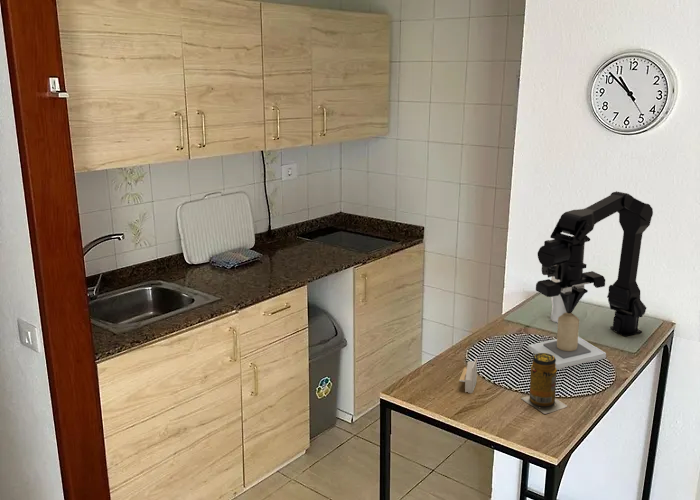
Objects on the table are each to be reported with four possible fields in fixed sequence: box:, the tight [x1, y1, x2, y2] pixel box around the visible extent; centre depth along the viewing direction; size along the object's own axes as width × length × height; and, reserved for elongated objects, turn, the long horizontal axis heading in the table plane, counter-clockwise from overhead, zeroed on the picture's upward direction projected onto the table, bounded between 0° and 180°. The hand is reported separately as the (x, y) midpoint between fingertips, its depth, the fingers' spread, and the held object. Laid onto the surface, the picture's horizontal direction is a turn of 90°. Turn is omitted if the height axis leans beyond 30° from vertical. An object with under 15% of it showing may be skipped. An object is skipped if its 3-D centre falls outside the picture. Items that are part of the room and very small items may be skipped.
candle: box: [556, 312, 580, 351], centre depth 181 cm, size 6×6×10 cm
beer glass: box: [550, 276, 567, 324], centre depth 202 cm, size 7×7×15 cm
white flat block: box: [528, 336, 607, 370], centre depth 182 cm, size 16×13×2 cm
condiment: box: [520, 353, 568, 415], centre depth 157 cm, size 7×8×12 cm
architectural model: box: [459, 358, 478, 394], centre depth 167 cm, size 3×7×7 cm, turn 160°
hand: (568, 312), depth 179 cm, fingers closed
